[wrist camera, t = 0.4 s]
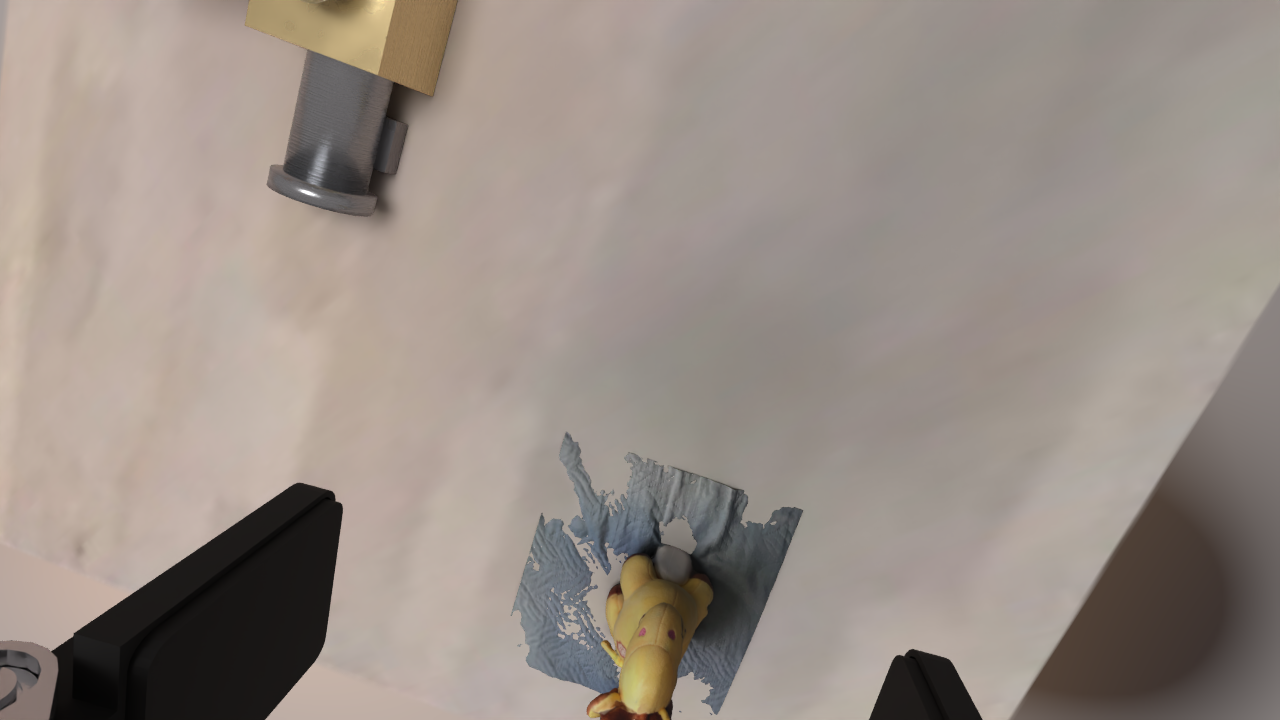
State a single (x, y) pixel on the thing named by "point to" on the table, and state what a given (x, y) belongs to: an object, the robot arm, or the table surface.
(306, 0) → the valve lever
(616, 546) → the stuffed giraffe
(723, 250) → the table surface
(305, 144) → the valve pipe
